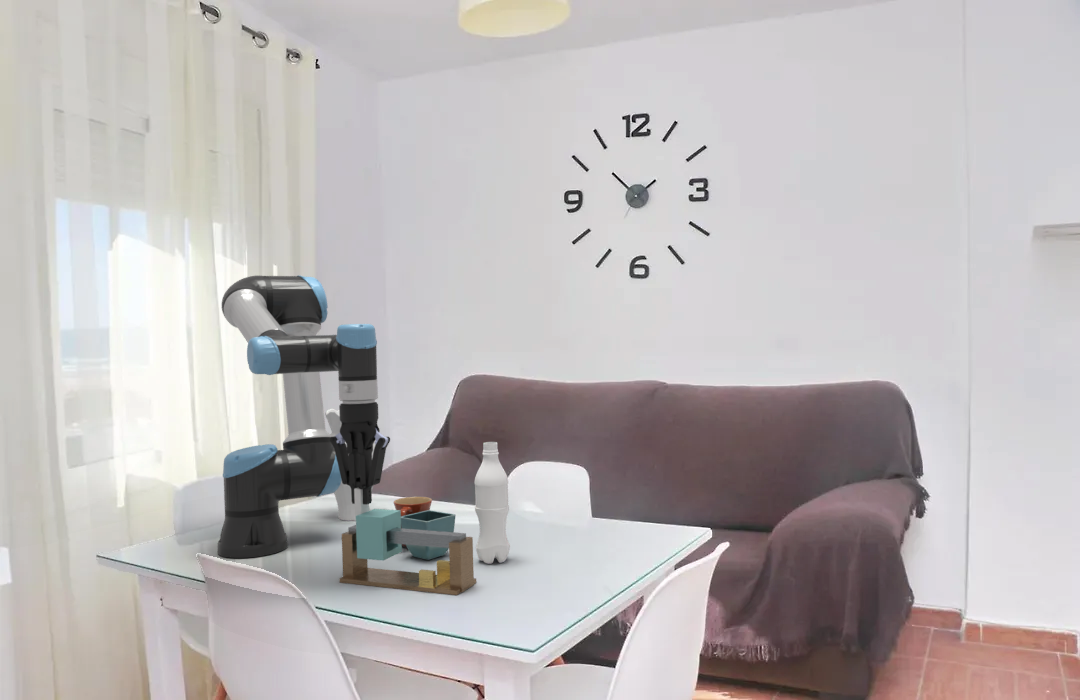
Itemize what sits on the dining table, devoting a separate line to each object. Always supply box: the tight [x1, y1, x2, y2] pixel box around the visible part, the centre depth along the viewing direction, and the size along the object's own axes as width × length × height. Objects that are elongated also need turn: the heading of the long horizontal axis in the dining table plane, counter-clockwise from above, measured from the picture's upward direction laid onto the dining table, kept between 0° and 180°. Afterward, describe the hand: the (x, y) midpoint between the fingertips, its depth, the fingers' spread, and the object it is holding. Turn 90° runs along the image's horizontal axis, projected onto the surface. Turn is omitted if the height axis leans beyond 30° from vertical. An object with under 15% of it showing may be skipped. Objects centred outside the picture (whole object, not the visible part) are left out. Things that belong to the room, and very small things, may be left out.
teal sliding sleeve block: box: [355, 508, 403, 561], centre depth 163 cm, size 6×7×8 cm
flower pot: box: [401, 509, 456, 561], centre depth 179 cm, size 9×9×9 cm
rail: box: [338, 524, 477, 596], centre depth 160 cm, size 26×8×10 cm, turn 68°
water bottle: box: [473, 441, 511, 565], centre depth 174 cm, size 7×7×25 cm
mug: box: [393, 496, 433, 549], centre depth 188 cm, size 12×9×10 cm
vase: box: [324, 408, 376, 522], centre depth 220 cm, size 15×15×29 cm
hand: (362, 520), depth 164 cm, fingers closed
